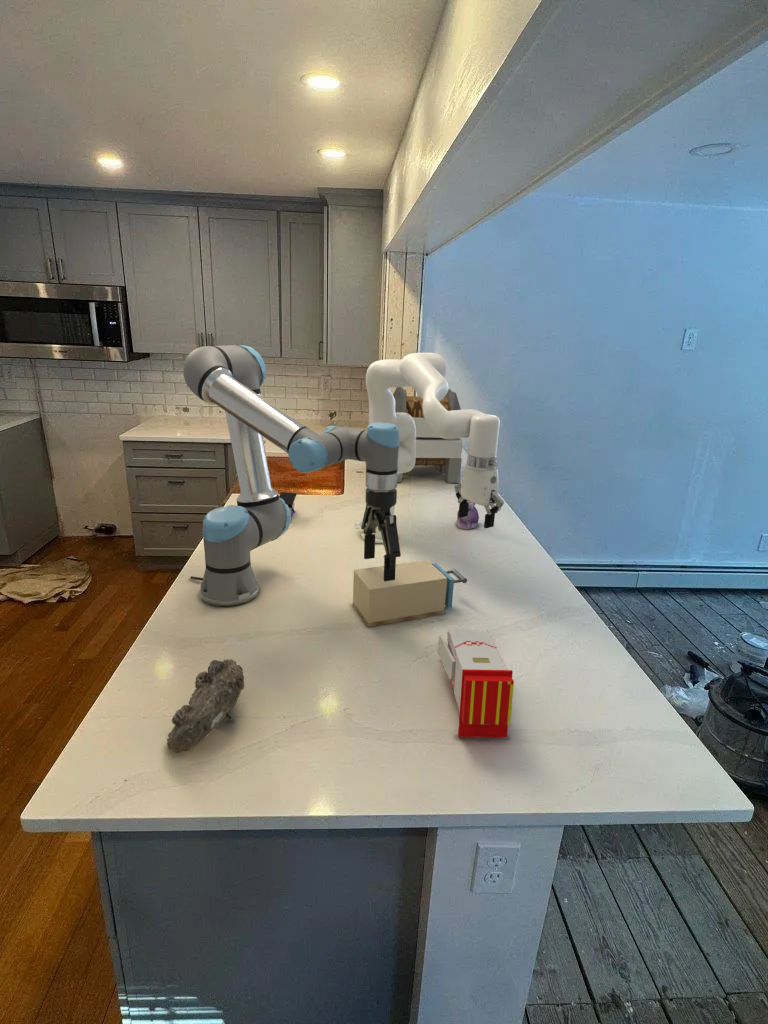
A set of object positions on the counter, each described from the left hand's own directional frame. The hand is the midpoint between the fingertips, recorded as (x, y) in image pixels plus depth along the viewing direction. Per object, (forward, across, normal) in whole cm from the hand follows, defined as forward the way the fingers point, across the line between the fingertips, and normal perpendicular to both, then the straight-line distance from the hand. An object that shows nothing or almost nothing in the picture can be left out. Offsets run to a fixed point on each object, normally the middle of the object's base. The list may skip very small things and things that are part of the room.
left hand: (378, 568), depth 143 cm
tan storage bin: (+13, 0, -6) cm, 14 cm away
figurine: (+13, +49, -55) cm, 75 cm away
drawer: (+12, 0, -12) cm, 17 cm away
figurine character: (+12, +76, +7) cm, 77 cm away
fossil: (+13, -26, +44) cm, 53 cm away
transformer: (+12, +118, -69) cm, 137 cm away
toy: (+13, -36, -6) cm, 39 cm away
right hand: (-8, +5, -30) cm, 32 cm away
